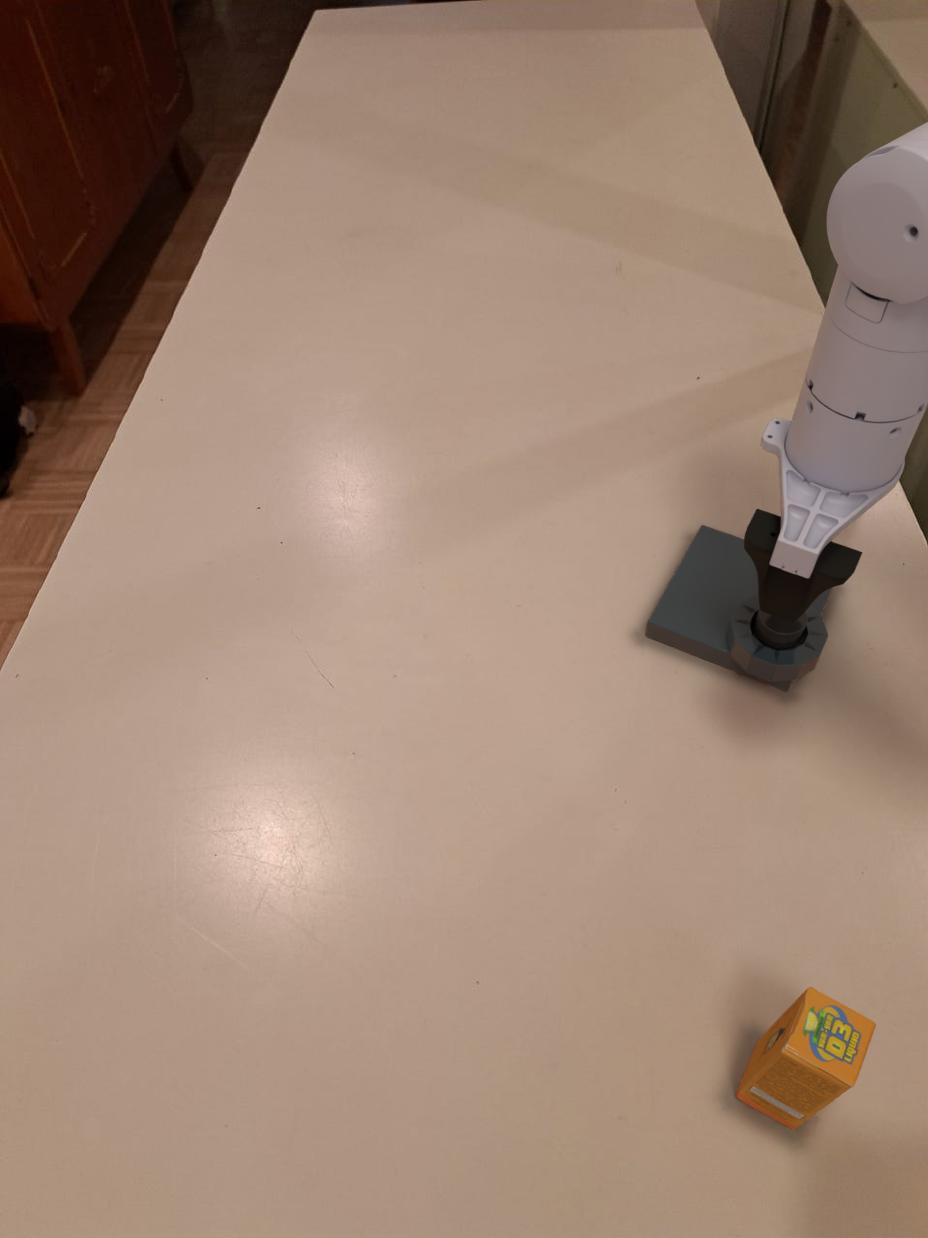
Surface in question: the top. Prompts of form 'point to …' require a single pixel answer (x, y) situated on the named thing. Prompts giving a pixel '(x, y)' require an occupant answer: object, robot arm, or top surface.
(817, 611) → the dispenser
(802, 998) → the supplement box
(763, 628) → the dark brown short cylinder
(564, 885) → the top surface
